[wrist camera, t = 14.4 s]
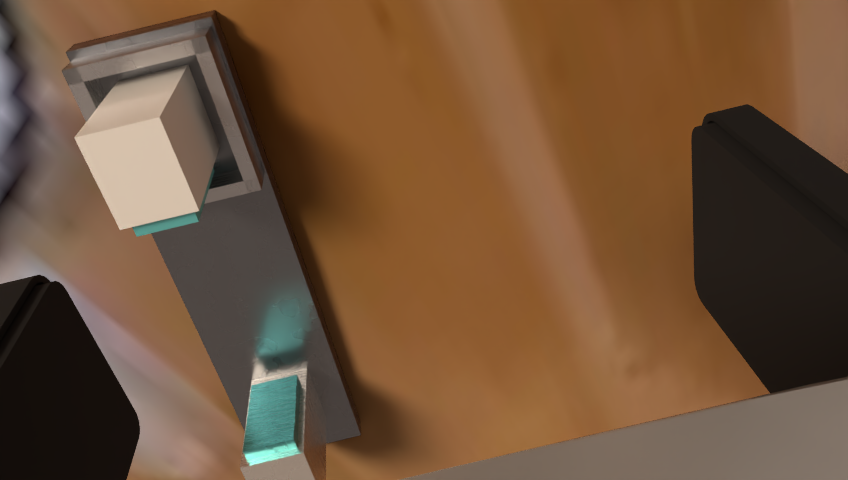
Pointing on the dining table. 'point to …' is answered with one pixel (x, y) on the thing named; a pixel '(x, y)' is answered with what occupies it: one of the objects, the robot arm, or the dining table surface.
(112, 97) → the cream block teal pad
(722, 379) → the dining table surface
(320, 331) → the rail
